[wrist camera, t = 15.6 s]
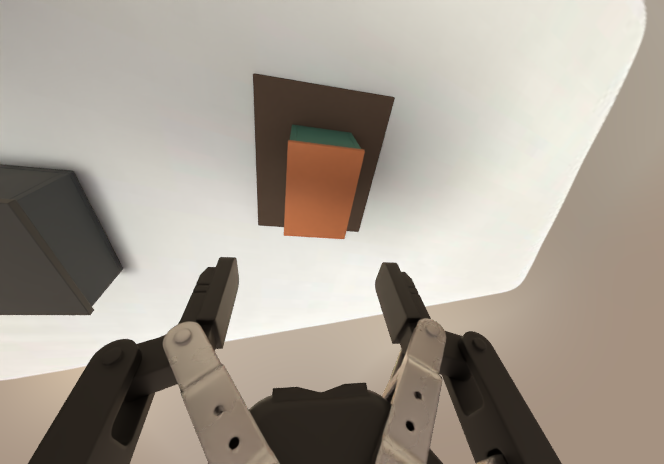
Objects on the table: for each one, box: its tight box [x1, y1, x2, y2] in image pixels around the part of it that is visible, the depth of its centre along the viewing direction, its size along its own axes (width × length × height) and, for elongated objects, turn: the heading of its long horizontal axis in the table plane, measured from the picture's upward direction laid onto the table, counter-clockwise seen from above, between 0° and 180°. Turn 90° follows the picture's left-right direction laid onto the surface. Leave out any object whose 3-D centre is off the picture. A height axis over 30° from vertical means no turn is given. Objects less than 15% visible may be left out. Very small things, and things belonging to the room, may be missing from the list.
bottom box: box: [0, 165, 123, 315], centre depth 25 cm, size 15×12×7 cm
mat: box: [253, 74, 395, 232], centre depth 26 cm, size 16×13×1 cm
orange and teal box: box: [284, 125, 365, 239], centre depth 24 cm, size 9×6×6 cm
